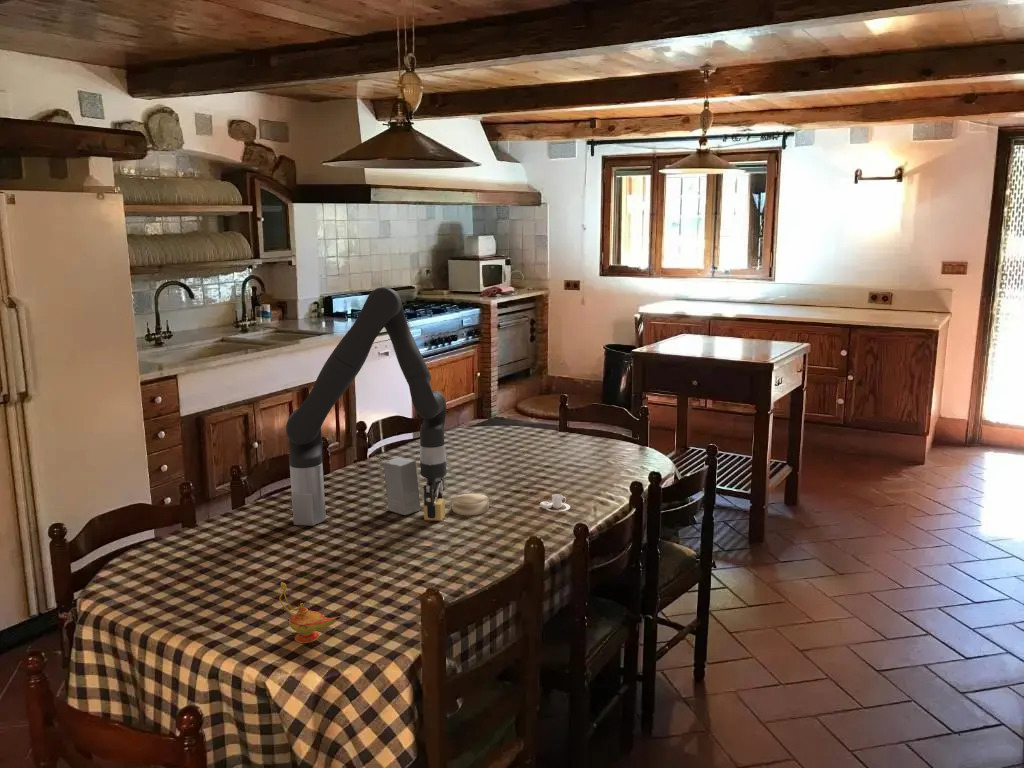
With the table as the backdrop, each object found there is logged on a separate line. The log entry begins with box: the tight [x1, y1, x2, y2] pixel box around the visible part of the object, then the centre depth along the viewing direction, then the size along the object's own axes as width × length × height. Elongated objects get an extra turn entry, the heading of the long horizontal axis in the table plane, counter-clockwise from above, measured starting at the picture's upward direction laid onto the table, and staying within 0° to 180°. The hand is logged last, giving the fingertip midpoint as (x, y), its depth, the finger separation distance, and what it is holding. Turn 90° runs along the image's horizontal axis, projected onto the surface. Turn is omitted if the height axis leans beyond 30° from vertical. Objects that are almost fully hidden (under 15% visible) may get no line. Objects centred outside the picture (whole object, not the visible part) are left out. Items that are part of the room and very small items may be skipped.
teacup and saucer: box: [539, 493, 571, 513], centre depth 248 cm, size 9×8×4 cm
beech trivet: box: [451, 493, 490, 516], centre depth 248 cm, size 11×11×3 cm
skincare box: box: [382, 456, 421, 516], centre depth 246 cm, size 8×7×16 cm
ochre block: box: [423, 498, 446, 522], centre depth 241 cm, size 5×5×5 cm
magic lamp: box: [278, 581, 345, 644], centre depth 171 cm, size 7×18×11 cm, turn 60°
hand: (435, 512), depth 241 cm, fingers open, 8 cm apart
